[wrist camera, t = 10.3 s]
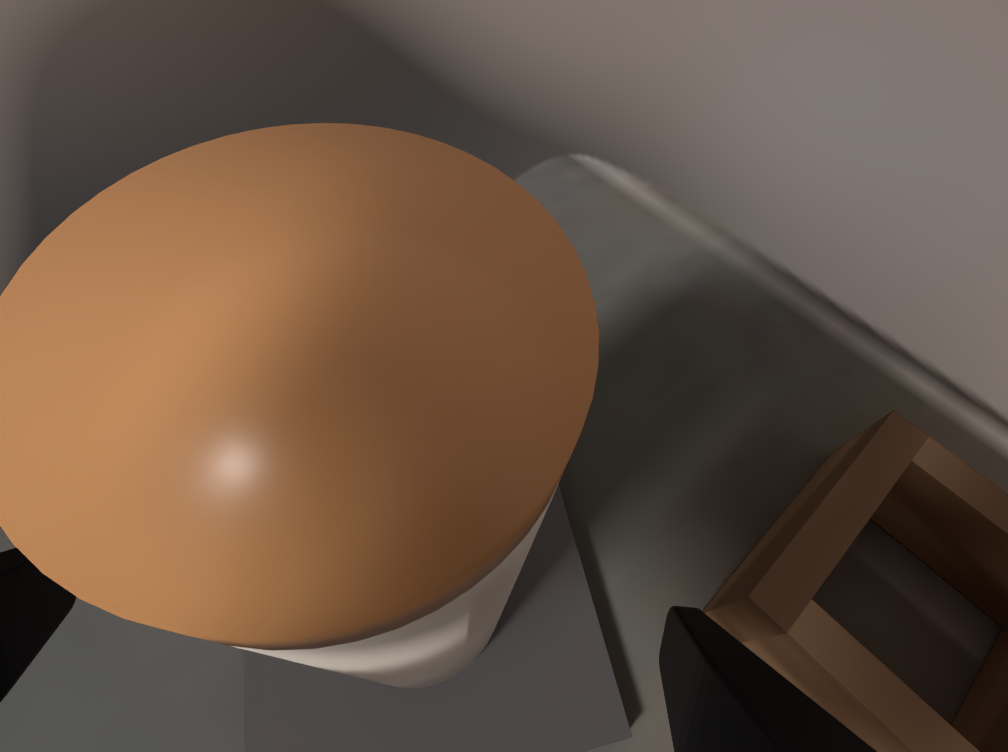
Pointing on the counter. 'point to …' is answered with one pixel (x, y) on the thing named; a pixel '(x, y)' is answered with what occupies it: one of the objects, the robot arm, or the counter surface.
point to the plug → (298, 396)
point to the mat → (465, 680)
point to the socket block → (819, 547)
